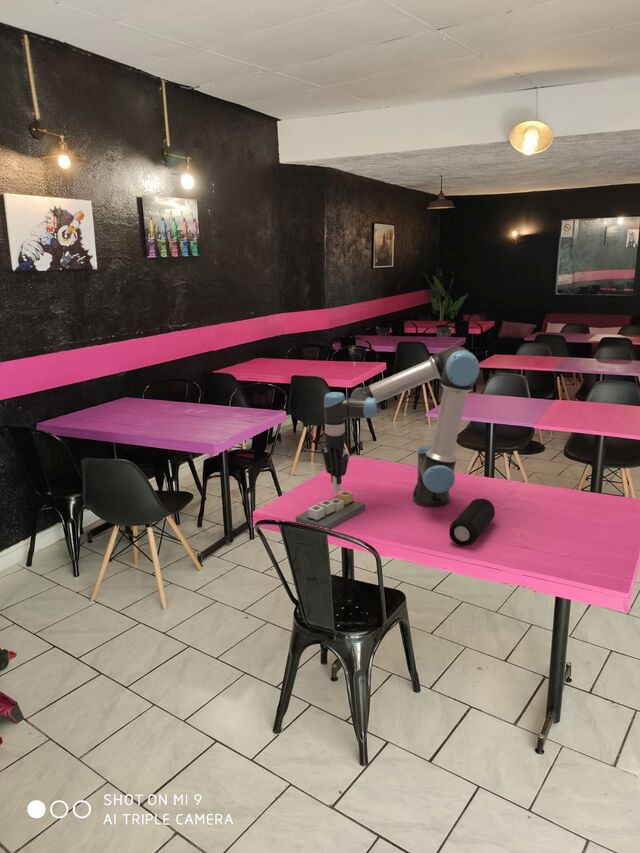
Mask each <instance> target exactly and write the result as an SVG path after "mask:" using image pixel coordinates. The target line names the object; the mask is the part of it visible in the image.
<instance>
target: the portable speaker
mask: <svg viewBox="0 0 640 853" xmlns="http://www.w3.org/2000/svg"><path fill="white" fill-rule="evenodd" d="M495 513H496V512H495V506H494V504H493V503H492V502H491V501H490V500H488V499H487V498H476V499H474V500H472V501H471V502H470V503H469V504H468V506H466V507H465V509H463V511H462V512H461V513H460V514H459V515H458V516H457V517H456V518H455V519H454V520H453V521H452V522H451V524H450V525H449V530H448V531H449V532H448V533H449V538H450V540H451V541H452V542H453V543H454V544H456V545H457V546H460V547H467V546H471V545H472V544H474V543H475V542H476V541H477V539H478V538H479V537H480V536H481V535H482V533H483V532H484V531H485V529H486V528H487V527H488V526H489V525H490V523H492V522H493V520H494V518H495Z"/></svg>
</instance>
